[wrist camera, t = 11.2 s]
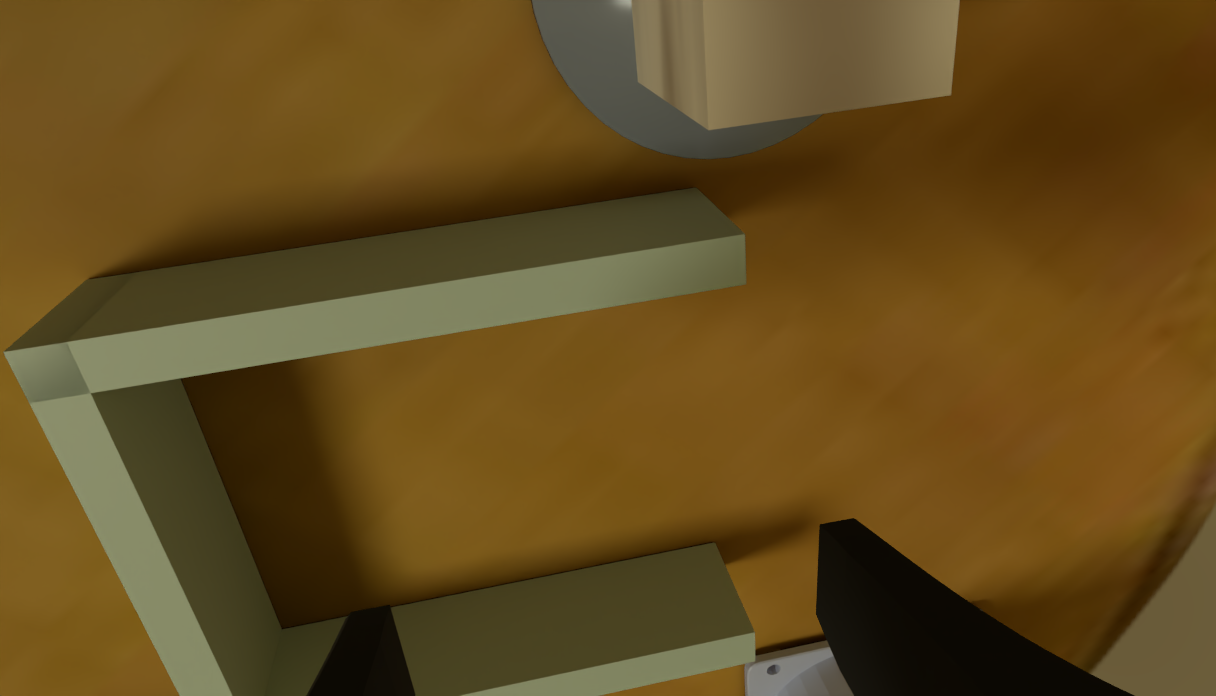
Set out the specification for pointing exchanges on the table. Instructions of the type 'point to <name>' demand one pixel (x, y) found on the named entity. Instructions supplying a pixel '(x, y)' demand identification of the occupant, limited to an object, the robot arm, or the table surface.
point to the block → (792, 55)
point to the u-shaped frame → (346, 320)
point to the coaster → (636, 84)
